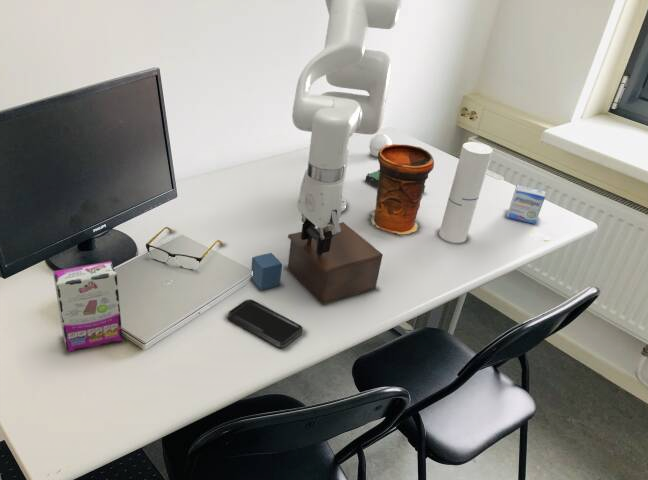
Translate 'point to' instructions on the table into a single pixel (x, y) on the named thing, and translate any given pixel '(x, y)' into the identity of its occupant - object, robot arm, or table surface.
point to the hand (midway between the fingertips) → (315, 244)
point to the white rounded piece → (379, 143)
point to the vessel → (400, 187)
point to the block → (266, 271)
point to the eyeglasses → (177, 254)
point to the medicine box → (526, 204)
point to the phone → (265, 323)
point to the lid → (336, 248)
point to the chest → (333, 277)
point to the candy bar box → (88, 305)
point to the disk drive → (376, 179)
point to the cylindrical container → (465, 191)
